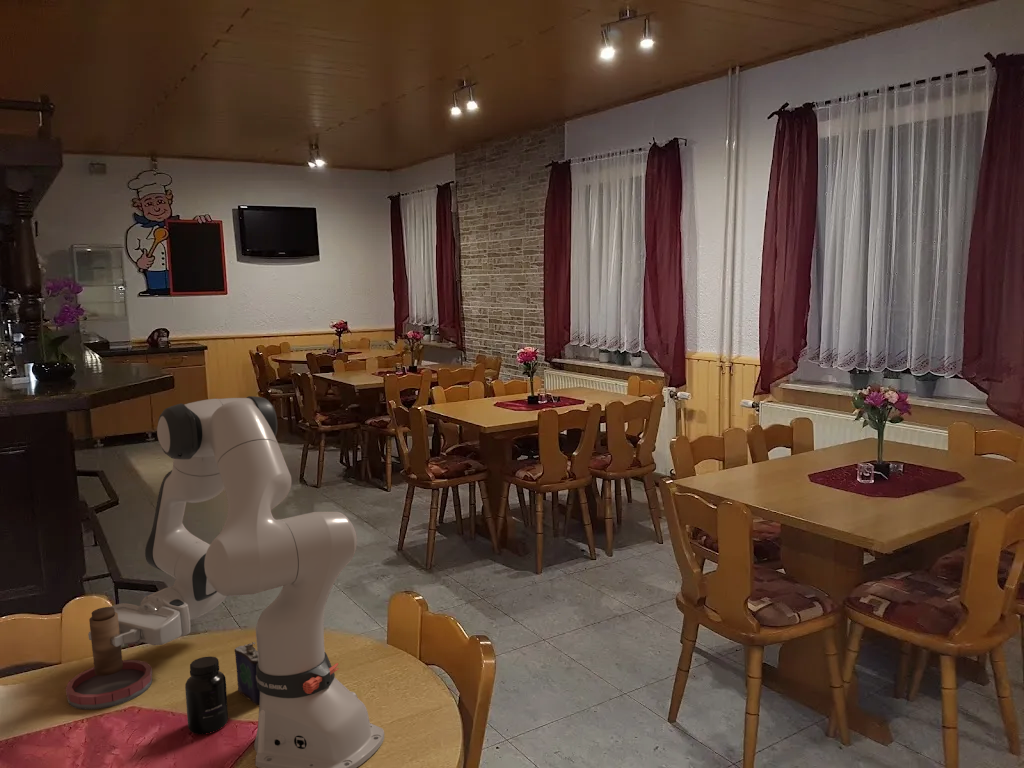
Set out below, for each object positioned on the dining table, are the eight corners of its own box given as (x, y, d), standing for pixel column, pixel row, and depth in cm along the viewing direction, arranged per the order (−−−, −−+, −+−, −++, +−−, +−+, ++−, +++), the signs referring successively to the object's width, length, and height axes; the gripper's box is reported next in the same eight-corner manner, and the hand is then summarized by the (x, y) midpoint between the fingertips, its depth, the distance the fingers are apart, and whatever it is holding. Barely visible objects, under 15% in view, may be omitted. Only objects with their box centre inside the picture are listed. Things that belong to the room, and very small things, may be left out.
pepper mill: (128, 666, 156) (122, 608, 154) (106, 677, 152) (99, 618, 150) (111, 661, 158) (105, 604, 157) (89, 673, 154) (82, 614, 152)
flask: (235, 691, 153) (231, 639, 151) (249, 685, 155) (245, 634, 154) (257, 707, 146) (253, 653, 145) (272, 701, 148) (268, 648, 147)
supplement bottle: (215, 737, 137) (209, 672, 135) (180, 734, 138) (174, 670, 137) (236, 716, 143) (231, 654, 142) (203, 713, 145) (197, 652, 143)
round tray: (168, 679, 158) (167, 667, 158) (101, 716, 145) (100, 703, 145) (118, 666, 165) (117, 655, 165) (50, 700, 152) (49, 688, 151)
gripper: (125, 591, 170) (65, 616, 157) (193, 605, 161) (135, 632, 148) (128, 619, 170) (69, 645, 158) (195, 634, 162) (138, 664, 149)
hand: (101, 639), depth 153 cm, fingers closed on pepper mill, 5 cm apart
